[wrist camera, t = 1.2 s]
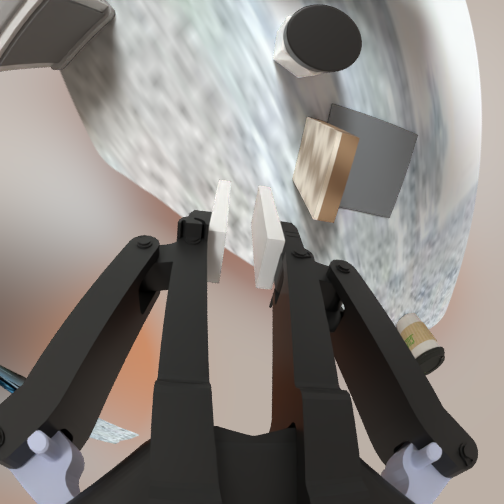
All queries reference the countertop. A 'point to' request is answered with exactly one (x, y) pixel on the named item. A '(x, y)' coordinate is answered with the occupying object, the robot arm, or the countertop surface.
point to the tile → (324, 167)
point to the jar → (317, 41)
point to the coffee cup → (421, 343)
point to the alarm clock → (48, 31)
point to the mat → (374, 161)
